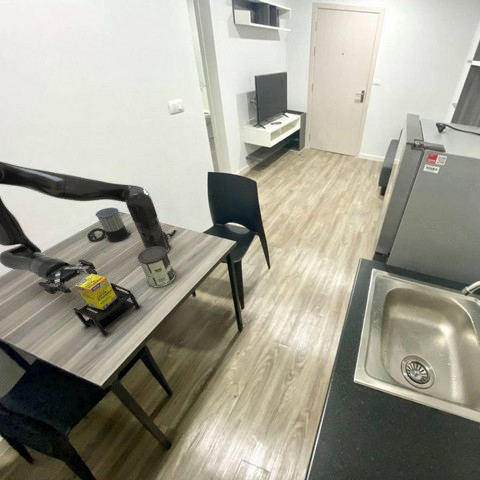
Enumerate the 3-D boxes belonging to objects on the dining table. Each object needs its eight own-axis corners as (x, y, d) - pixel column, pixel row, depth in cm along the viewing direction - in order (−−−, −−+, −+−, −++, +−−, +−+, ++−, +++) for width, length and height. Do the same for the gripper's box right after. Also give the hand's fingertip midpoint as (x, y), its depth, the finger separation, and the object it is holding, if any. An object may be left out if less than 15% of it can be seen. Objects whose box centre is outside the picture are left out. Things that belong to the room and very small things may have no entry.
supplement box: (104, 311, 90) (89, 289, 83) (89, 307, 90) (74, 285, 84) (118, 298, 94) (106, 276, 88) (104, 294, 95) (91, 273, 89)
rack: (121, 299, 104) (111, 282, 98) (140, 307, 101) (131, 290, 95) (85, 326, 93) (71, 309, 87) (105, 336, 91) (92, 319, 85)
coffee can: (164, 267, 120) (155, 243, 111) (180, 275, 116) (171, 251, 108) (143, 281, 112) (131, 256, 104) (159, 290, 109) (148, 265, 100)
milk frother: (132, 237, 135) (121, 212, 126) (95, 250, 125) (81, 224, 116) (122, 225, 142) (111, 201, 133) (87, 237, 132) (72, 212, 124)
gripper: (19, 273, 86) (53, 288, 82) (67, 249, 96) (99, 261, 92) (33, 289, 90) (65, 304, 86) (77, 264, 101) (107, 276, 97)
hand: (83, 282), depth 89 cm, fingers open, 8 cm apart
